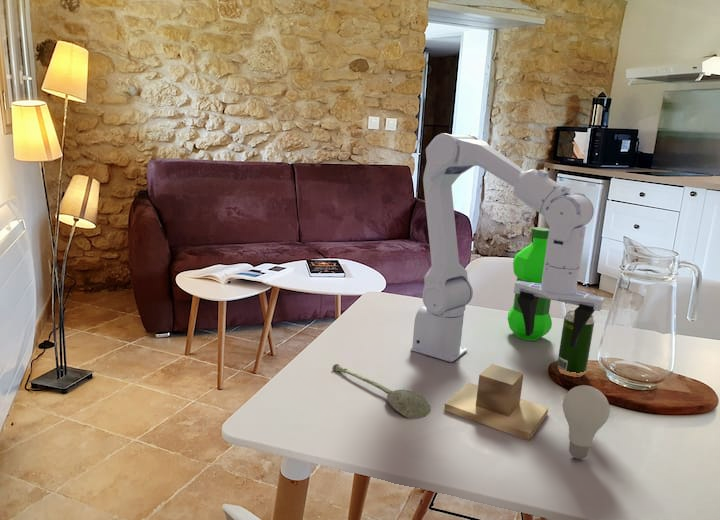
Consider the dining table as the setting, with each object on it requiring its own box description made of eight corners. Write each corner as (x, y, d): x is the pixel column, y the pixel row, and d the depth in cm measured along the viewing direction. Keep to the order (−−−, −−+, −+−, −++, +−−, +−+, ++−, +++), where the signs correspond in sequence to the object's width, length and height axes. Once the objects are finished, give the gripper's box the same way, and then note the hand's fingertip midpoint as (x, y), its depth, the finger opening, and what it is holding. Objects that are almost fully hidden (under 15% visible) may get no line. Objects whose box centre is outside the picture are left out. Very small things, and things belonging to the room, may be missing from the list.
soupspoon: (411, 430, 85) (437, 418, 90) (414, 410, 84) (440, 400, 89) (321, 375, 100) (348, 367, 105) (323, 358, 99) (350, 351, 104)
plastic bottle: (495, 334, 125) (508, 227, 119) (520, 325, 132) (534, 223, 126) (534, 348, 118) (550, 235, 112) (558, 338, 125) (575, 231, 119)
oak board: (444, 410, 89) (445, 403, 89) (468, 388, 97) (469, 382, 97) (528, 440, 82) (529, 433, 82) (547, 414, 90) (548, 407, 90)
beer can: (574, 380, 103) (583, 321, 100) (550, 369, 108) (559, 312, 105) (591, 375, 106) (601, 317, 103) (567, 364, 110) (576, 308, 108)
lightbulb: (598, 451, 80) (610, 382, 77) (601, 475, 74) (615, 402, 72) (554, 442, 82) (565, 374, 79) (554, 464, 76) (566, 392, 74)
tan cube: (475, 405, 89) (479, 374, 88) (488, 393, 93) (491, 363, 92) (508, 416, 86) (512, 385, 85) (519, 403, 91) (523, 373, 89)
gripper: (512, 261, 93) (503, 335, 96) (602, 277, 85) (589, 358, 89) (525, 254, 99) (515, 325, 102) (610, 269, 91) (597, 345, 94)
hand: (550, 339), depth 96 cm, fingers open, 7 cm apart
